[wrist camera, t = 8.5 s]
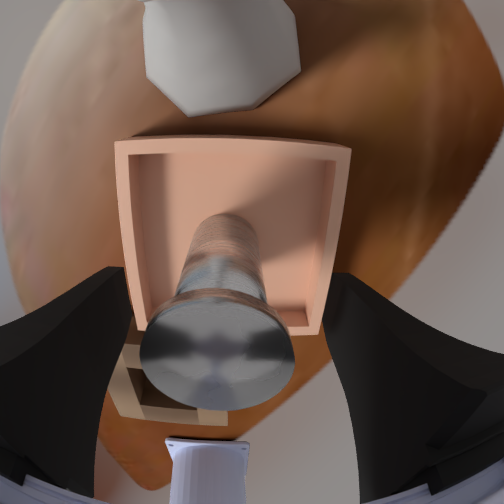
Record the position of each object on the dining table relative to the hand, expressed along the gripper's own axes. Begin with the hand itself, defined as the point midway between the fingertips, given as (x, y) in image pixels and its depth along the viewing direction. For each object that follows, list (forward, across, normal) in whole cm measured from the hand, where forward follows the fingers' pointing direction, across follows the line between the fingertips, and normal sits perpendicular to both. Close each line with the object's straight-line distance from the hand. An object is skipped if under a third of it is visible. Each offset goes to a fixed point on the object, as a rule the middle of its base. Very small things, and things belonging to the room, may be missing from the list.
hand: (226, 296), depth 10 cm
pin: (+5, 0, 0) cm, 5 cm away
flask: (+6, +1, -9) cm, 11 cm away
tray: (+5, 0, 0) cm, 5 cm away
